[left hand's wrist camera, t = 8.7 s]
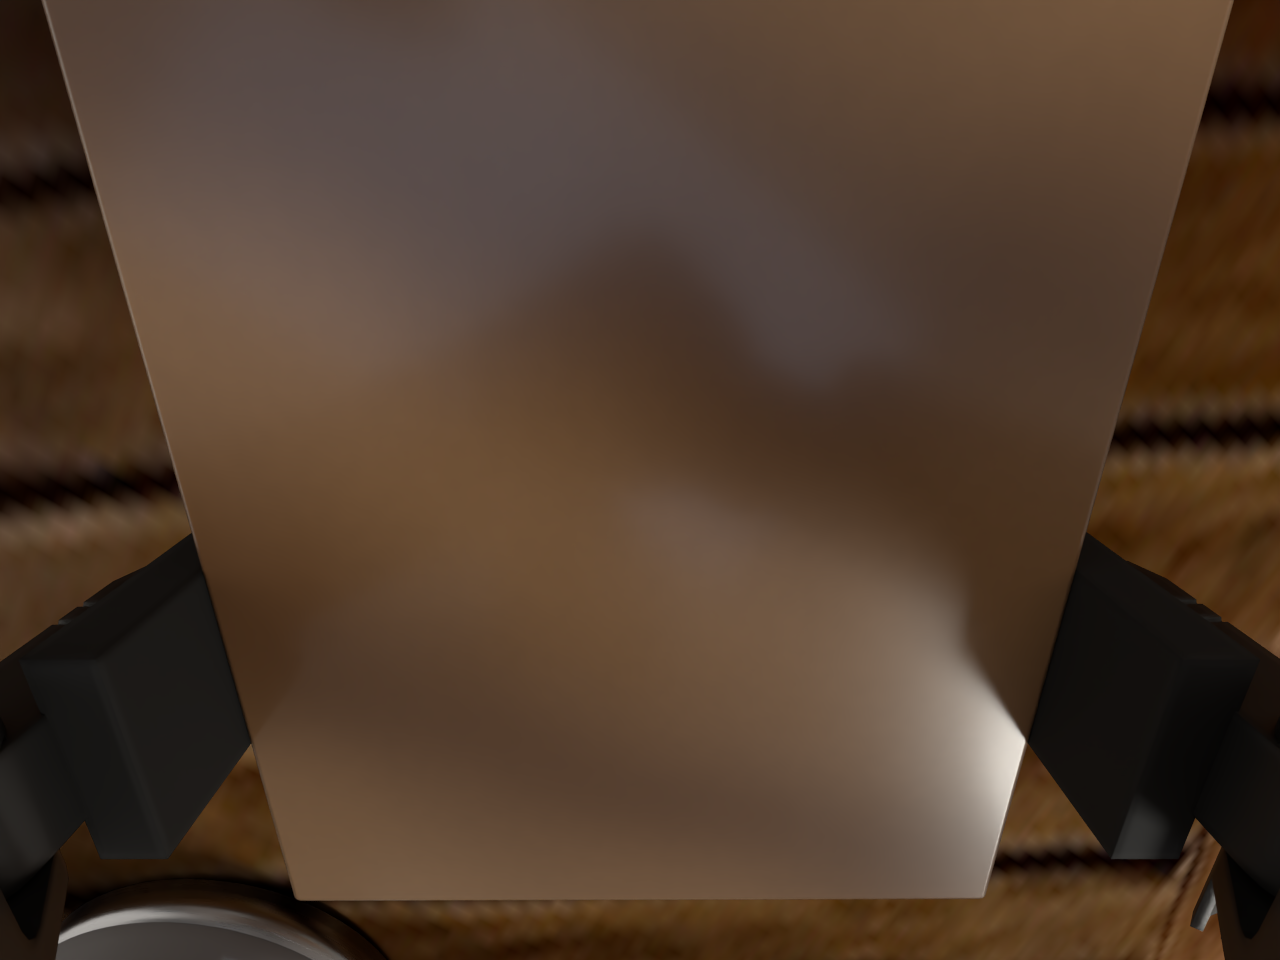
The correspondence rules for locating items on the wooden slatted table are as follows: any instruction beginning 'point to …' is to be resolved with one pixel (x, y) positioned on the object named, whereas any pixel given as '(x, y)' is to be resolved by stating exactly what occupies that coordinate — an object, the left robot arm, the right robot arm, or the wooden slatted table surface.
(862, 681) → the cabinet
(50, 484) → the wooden slatted table surface
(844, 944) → the wooden slatted table surface
